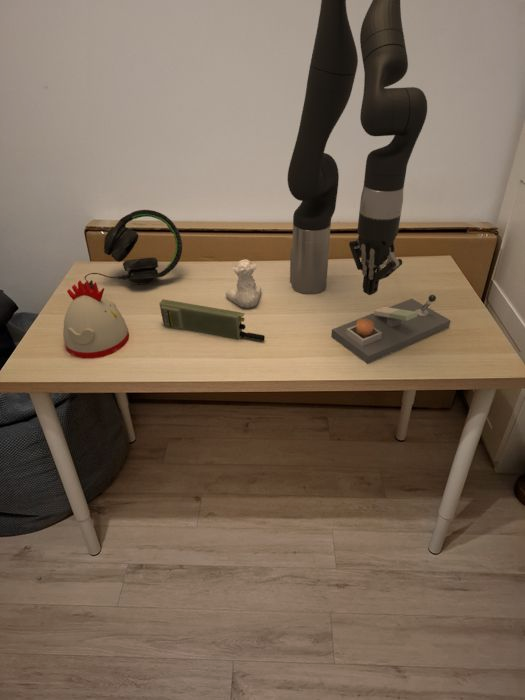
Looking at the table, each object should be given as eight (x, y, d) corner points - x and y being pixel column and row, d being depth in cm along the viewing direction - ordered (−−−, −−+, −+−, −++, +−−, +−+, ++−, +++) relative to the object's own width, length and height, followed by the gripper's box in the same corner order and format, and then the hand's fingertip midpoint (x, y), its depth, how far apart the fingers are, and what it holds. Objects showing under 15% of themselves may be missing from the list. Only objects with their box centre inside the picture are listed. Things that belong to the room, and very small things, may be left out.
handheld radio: (168, 320, 116) (266, 338, 109) (162, 328, 114) (262, 346, 107) (164, 297, 112) (266, 314, 105) (157, 304, 109) (261, 322, 103)
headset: (111, 313, 135) (196, 253, 134) (100, 319, 121) (193, 253, 120) (70, 260, 131) (156, 198, 130) (53, 260, 118) (149, 191, 117)
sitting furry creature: (260, 291, 126) (259, 248, 119) (269, 307, 120) (269, 263, 113) (225, 296, 125) (222, 253, 117) (232, 313, 118) (229, 268, 111)
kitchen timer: (114, 361, 103) (99, 300, 94) (54, 356, 105) (34, 295, 96) (138, 325, 114) (126, 268, 105) (83, 321, 116) (67, 264, 107)
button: (352, 329, 105) (353, 321, 104) (364, 324, 106) (365, 316, 105) (363, 337, 102) (364, 329, 101) (376, 332, 104) (377, 324, 103)
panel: (331, 336, 109) (332, 323, 107) (410, 305, 119) (412, 292, 117) (367, 363, 101) (369, 350, 99) (448, 327, 111) (452, 314, 109)
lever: (417, 309, 113) (429, 294, 108) (422, 307, 113) (434, 292, 109) (421, 314, 112) (433, 299, 107) (426, 312, 113) (438, 297, 108)
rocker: (374, 314, 111) (373, 310, 111) (384, 310, 113) (384, 306, 112) (406, 320, 103) (406, 316, 102) (417, 316, 104) (416, 311, 104)
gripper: (422, 216, 86) (406, 301, 96) (370, 196, 95) (361, 275, 105) (391, 225, 82) (378, 312, 93) (341, 203, 92) (334, 284, 102)
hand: (369, 292), depth 99 cm, fingers closed
